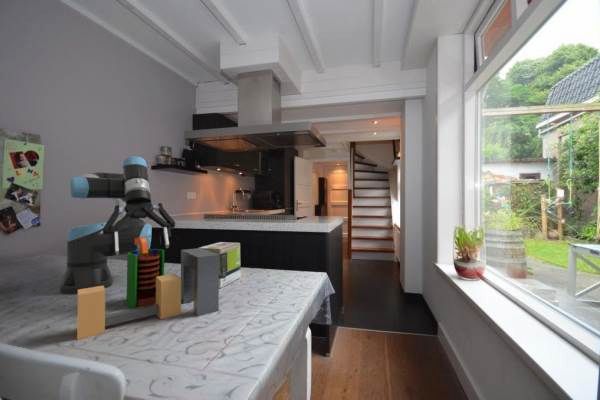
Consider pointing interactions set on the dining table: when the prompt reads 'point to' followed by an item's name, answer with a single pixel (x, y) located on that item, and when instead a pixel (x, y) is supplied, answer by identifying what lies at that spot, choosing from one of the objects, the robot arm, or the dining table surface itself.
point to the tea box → (227, 261)
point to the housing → (200, 280)
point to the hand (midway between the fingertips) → (143, 249)
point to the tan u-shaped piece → (95, 320)
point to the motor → (143, 274)
